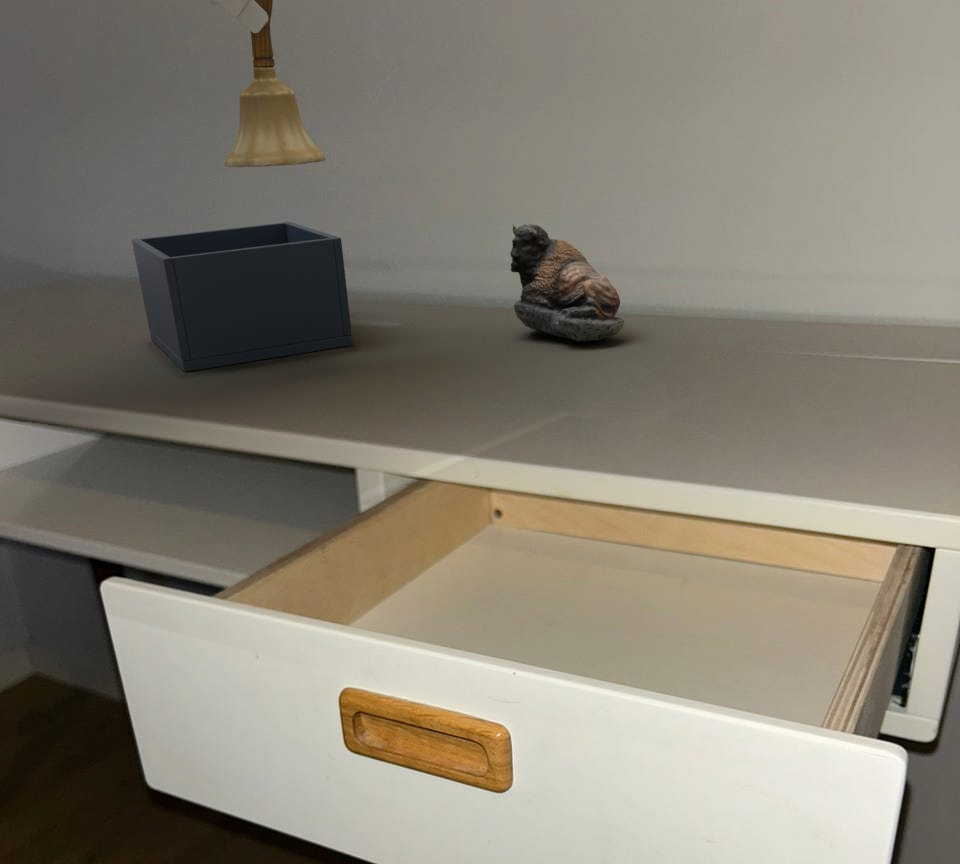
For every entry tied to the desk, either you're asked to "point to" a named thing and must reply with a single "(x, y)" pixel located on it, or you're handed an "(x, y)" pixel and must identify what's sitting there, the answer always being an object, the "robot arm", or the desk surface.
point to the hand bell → (269, 114)
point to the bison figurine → (561, 289)
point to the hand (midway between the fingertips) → (265, 27)
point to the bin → (244, 293)
